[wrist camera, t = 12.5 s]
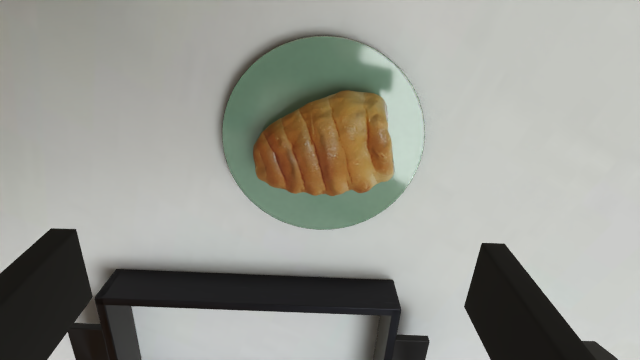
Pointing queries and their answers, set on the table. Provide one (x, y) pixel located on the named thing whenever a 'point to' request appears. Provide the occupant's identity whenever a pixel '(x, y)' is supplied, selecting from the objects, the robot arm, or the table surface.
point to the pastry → (328, 146)
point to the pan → (237, 306)
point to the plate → (310, 85)
